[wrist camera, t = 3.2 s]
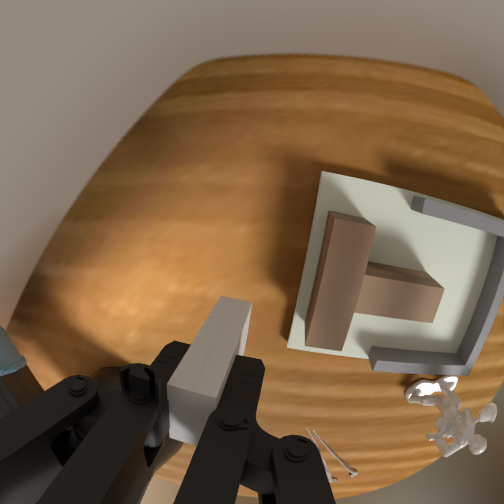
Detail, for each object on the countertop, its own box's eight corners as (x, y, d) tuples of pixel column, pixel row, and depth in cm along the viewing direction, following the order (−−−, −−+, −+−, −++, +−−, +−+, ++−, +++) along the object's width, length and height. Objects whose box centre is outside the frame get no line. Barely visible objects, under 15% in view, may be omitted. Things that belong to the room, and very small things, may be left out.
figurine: (403, 381, 28) (433, 464, 16) (473, 353, 26) (521, 419, 14) (405, 409, 29) (429, 486, 17) (471, 382, 27) (510, 447, 15)
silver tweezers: (359, 470, 33) (360, 480, 31) (329, 478, 35) (329, 488, 33) (317, 397, 32) (317, 408, 30) (281, 408, 33) (279, 419, 31)
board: (287, 342, 28) (285, 362, 25) (321, 171, 24) (325, 171, 20) (457, 360, 26) (469, 377, 23) (505, 220, 22) (525, 227, 18)
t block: (304, 321, 26) (304, 346, 22) (328, 210, 23) (334, 218, 20) (404, 335, 25) (417, 359, 21) (436, 233, 22) (457, 245, 19)
